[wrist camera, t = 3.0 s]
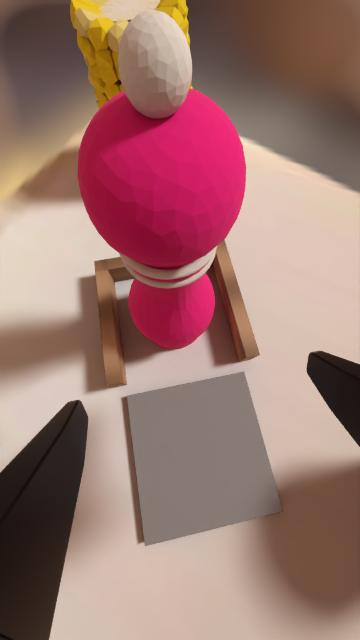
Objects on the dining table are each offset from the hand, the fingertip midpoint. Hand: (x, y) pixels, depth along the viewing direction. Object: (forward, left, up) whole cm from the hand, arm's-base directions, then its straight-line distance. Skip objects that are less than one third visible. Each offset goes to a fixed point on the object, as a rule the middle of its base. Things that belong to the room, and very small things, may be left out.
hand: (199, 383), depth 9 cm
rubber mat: (-3, +4, -13) cm, 14 cm away
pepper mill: (+5, -5, -13) cm, 15 cm away
